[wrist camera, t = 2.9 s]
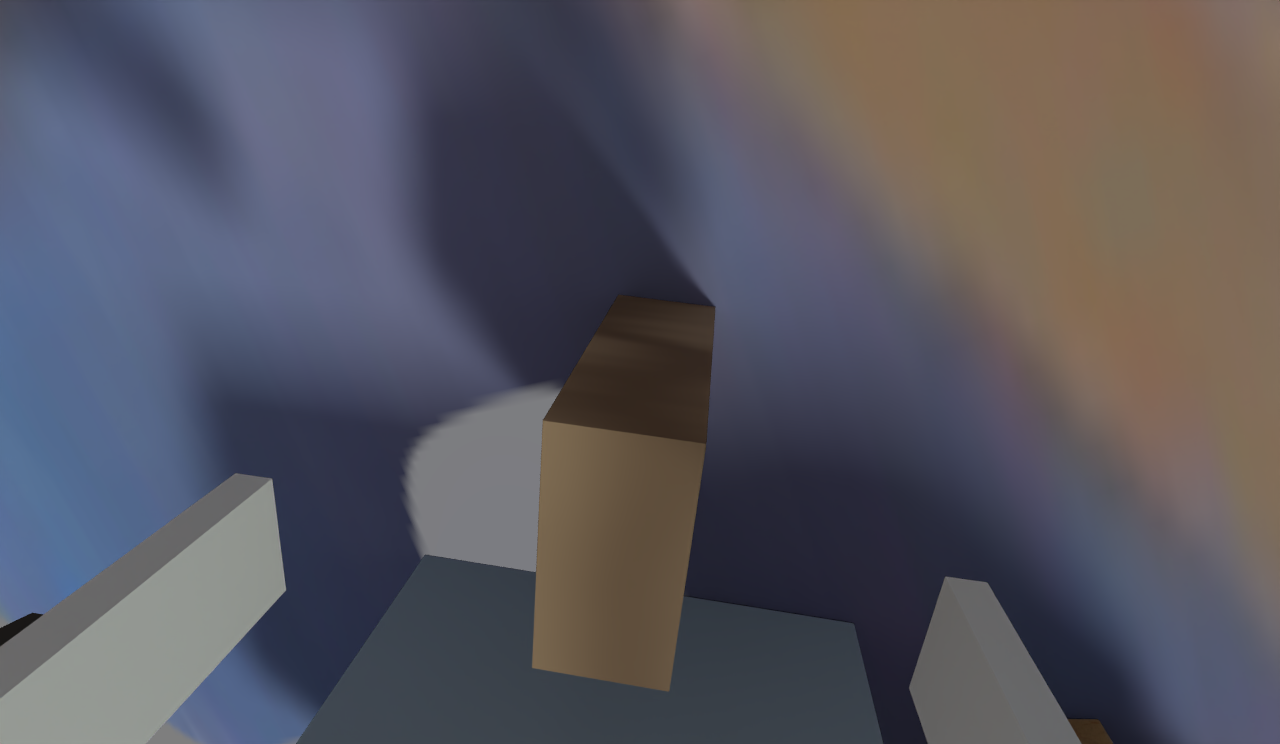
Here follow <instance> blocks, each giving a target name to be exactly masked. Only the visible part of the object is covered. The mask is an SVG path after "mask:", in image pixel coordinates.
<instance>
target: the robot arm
mask: <svg viewBox="0 0 1280 744" xmlns="http://www.w3.org/2000/svg"><path fill="white" fill-rule="evenodd" d="M285 591H286V585H285V577H284V569H283V561H282V553H281V545H280V537H279V529H278V521H277V513H276V505H275V497H274V489H273V481H272V478H265V477H258V476H251V475H244V474H237V473H235V474H234V475H233V476H231V477H230V478H228V479H227V480H226V481H224V482H223V483H222V484H220V485H219V486H218V487H216V488H215V489H214V490H212V491H211V492H209V493H208V494H207V495H205V496H204V497H203V498H201V499H200V500H199V501H197V502H196V503H195V504H193V505H192V506H190V507H189V508H188V509H186V510H185V511H184V512H182V513H181V514H180V515H178V516H177V517H176V518H174V519H173V520H171V521H170V522H169V523H167V524H166V525H165V526H163V527H162V528H161V529H159V530H158V531H157V532H155V533H154V534H152V535H151V536H150V537H148V538H147V539H146V540H144V541H143V542H142V543H140V544H139V545H138V546H136V547H135V548H133V549H132V550H131V551H129V552H128V553H127V554H125V555H124V556H123V557H121V558H120V559H119V560H117V561H116V562H114V563H113V564H112V565H110V566H109V567H108V568H106V569H105V570H104V571H102V572H101V573H100V574H98V575H97V576H95V577H94V578H93V579H91V580H90V581H89V582H87V583H86V584H85V585H83V586H82V587H81V588H79V589H78V590H76V591H75V592H74V593H72V594H71V595H70V596H68V597H67V598H66V599H64V600H63V601H62V602H60V603H59V604H57V605H56V606H55V607H53V608H52V609H51V610H49V611H48V612H47V613H45V614H44V615H43V614H36V613H31V614H29V615H27V616H25V617H22V618H20V619H18V620H16V621H14V622H12V623H10V624H8V625H6V626H4V627H1V628H0V744H146V743H147V742H148V741H149V739H151V737H152V736H153V735H154V734H155V733H156V732H157V731H158V730H159V729H160V728H161V727H162V725H163V724H164V723H165V722H166V721H167V720H168V719H169V718H170V717H171V716H172V715H173V713H174V712H175V711H176V710H177V709H178V708H179V707H180V706H181V705H182V704H183V702H184V701H185V700H186V699H187V698H188V697H189V696H190V695H191V694H192V693H193V692H194V690H195V689H196V688H197V687H198V686H199V685H200V684H201V683H202V682H203V681H204V679H205V678H206V677H207V676H208V675H209V674H210V673H211V672H212V671H213V670H214V669H215V667H216V666H217V665H218V664H219V663H220V662H221V661H222V660H223V659H224V658H225V656H226V655H227V654H228V653H229V652H230V651H231V650H232V649H233V648H234V647H235V646H236V644H237V643H238V642H239V641H240V640H241V639H242V638H243V637H244V636H245V635H246V633H247V632H248V631H249V630H250V629H251V628H252V627H253V626H254V625H255V624H256V623H257V621H258V620H259V619H260V618H261V617H262V616H263V615H264V614H265V613H266V612H267V610H268V609H269V608H270V607H271V606H272V605H273V604H274V603H275V602H276V601H277V600H278V598H279V597H280V596H281V595H282V594H283V593H284V592H285ZM909 689H910V692H911V695H912V698H913V701H914V704H915V707H916V710H917V713H918V716H919V719H920V722H921V725H922V728H923V731H924V734H925V737H926V740H927V743H928V744H1081V742H1080V740H1079V738H1078V737H1077V735H1076V733H1075V732H1074V730H1073V728H1072V726H1071V725H1070V723H1069V721H1068V720H1067V718H1066V716H1065V714H1064V713H1063V711H1062V709H1061V708H1060V706H1059V704H1058V702H1057V701H1056V699H1055V697H1054V696H1053V694H1052V692H1051V690H1050V689H1049V687H1048V685H1047V684H1046V682H1045V680H1044V679H1043V677H1042V675H1041V673H1040V672H1039V670H1038V668H1037V667H1036V665H1035V663H1034V661H1033V660H1032V658H1031V656H1030V655H1029V653H1028V651H1027V649H1026V648H1025V646H1024V644H1023V643H1022V641H1021V639H1020V637H1019V636H1018V634H1017V632H1016V631H1015V629H1014V627H1013V625H1012V624H1011V622H1010V620H1009V619H1008V617H1007V615H1006V613H1005V612H1004V610H1003V608H1002V607H1001V605H1000V603H999V602H998V600H997V598H996V596H995V595H994V593H993V591H992V590H991V588H990V586H989V584H988V583H987V582H980V581H973V580H966V579H960V578H953V577H946V576H945V579H944V582H943V585H942V588H941V591H940V594H939V597H938V600H937V603H936V606H935V609H934V612H933V615H932V618H931V622H930V625H929V628H928V631H927V634H926V637H925V640H924V643H923V646H922V649H921V652H920V655H919V658H918V661H917V665H916V668H915V671H914V674H913V677H912V680H911V683H910V686H909Z"/></svg>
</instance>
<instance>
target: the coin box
mask: <svg viewBox="0 0 1280 744" xmlns="http://www.w3.org/2000/svg"><path fill="white" fill-rule="evenodd" d="M535 589H536V572H530V571H524V570H518V569H512V568H506V567H499V566H493V565H486V564H480V563H474V562H468V561H462V560H456V559H450V558H443V557H436V556H430V555H424V557H423V558H422V560H421V561H420V563H419V564H418V566H417V567H416V569H415V570H414V572H413V573H412V575H411V576H410V577H409V579H408V580H407V582H406V583H405V585H404V586H403V588H402V589H401V591H400V592H399V594H398V595H397V596H396V598H395V599H394V601H393V602H392V604H391V605H390V607H389V608H388V610H387V611H386V613H385V614H384V616H383V617H382V618H381V620H380V621H379V623H378V624H377V626H376V627H375V629H374V630H373V632H372V633H371V635H370V636H369V638H368V639H367V640H366V642H365V643H364V645H363V646H362V648H361V649H360V651H359V652H358V654H357V655H356V657H355V658H354V659H353V661H352V662H351V664H350V665H349V667H348V668H347V670H346V671H345V673H344V674H343V676H342V677H341V679H340V680H339V681H338V683H337V684H336V686H335V687H334V689H333V690H332V692H331V693H330V695H329V696H328V698H327V699H326V701H325V702H324V703H323V705H322V706H321V708H320V709H319V711H318V712H317V714H316V715H315V717H314V718H313V720H312V721H311V722H310V724H309V725H308V727H307V728H306V730H305V731H304V733H303V734H302V736H301V737H300V739H299V740H298V742H297V743H296V744H883V740H882V736H881V732H880V728H879V724H878V720H877V716H876V712H875V708H874V704H873V700H872V696H871V691H870V687H869V683H868V679H867V675H866V671H865V667H864V663H863V659H862V655H861V651H860V647H859V643H858V639H857V635H856V631H855V627H854V623H848V622H841V621H835V620H829V619H823V618H816V617H810V616H804V615H798V614H792V613H785V612H779V611H773V610H767V609H761V608H754V607H748V606H742V605H736V604H729V603H723V602H717V601H711V600H705V599H698V598H692V597H686V596H683V603H682V610H681V616H680V623H679V630H678V636H677V643H676V650H675V656H674V663H673V670H672V676H671V683H670V690H669V692H668V691H662V690H656V689H650V688H645V687H639V686H633V685H627V684H621V683H616V682H610V681H604V680H598V679H593V678H587V677H581V676H575V675H570V674H564V673H558V672H552V671H547V670H541V669H535V668H532V657H533V635H534V612H535Z"/></svg>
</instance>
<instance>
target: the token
mask: <svg viewBox="0 0 1280 744" xmlns="http://www.w3.org/2000/svg"><path fill="white" fill-rule="evenodd" d="M714 320H715V307H712V306H704V305H697V304H689V303H681V302H673V301H665V300H657V299H649V298H641V297H633V296H625V295H618V296H617V298H616V300H615V301H614V303H613V305H612V306H611V308H610V310H609V311H608V313H607V315H606V316H605V318H604V320H603V321H602V323H601V325H600V326H599V328H598V330H597V331H596V333H595V335H594V336H593V338H592V340H591V341H590V343H589V345H588V346H587V348H586V350H585V351H584V353H583V355H582V356H581V358H580V360H579V361H578V363H577V365H576V366H575V368H574V370H573V371H572V373H571V375H570V376H569V378H568V380H567V381H566V383H565V384H564V386H563V388H562V389H561V391H560V393H559V394H558V396H557V398H556V399H555V401H554V403H553V404H552V406H551V408H550V410H549V411H548V413H547V415H546V416H545V418H544V419H543V428H542V451H541V452H542V453H541V474H540V497H539V520H538V544H537V567H536V589H535V612H534V635H533V657H532V668H535V669H541V670H547V671H552V672H558V673H564V674H570V675H575V676H581V677H587V678H593V679H598V680H604V681H610V682H616V683H621V684H627V685H633V686H639V687H645V688H650V689H656V690H662V691H668V692H669V690H670V683H671V676H672V670H673V663H674V656H675V650H676V643H677V636H678V630H679V623H680V616H681V610H682V603H683V596H684V590H685V583H686V576H687V570H688V563H689V556H690V550H691V543H692V536H693V530H694V523H695V516H696V510H697V503H698V496H699V490H700V483H701V476H702V470H703V463H704V456H705V450H706V442H707V427H708V411H709V396H710V381H711V366H712V351H713V336H714Z"/></svg>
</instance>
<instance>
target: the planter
mask: <svg viewBox="0 0 1280 744" xmlns="http://www.w3.org/2000/svg"><path fill="white" fill-rule="evenodd" d="M1067 720H1068V721H1069V723H1070V725H1071V726H1072V728H1073V730H1074V732H1075V733H1076V735H1077V737H1078V738H1079V740H1080V742H1081V744H1113V742H1112V741H1111V739H1110V737H1109V736H1108V734H1107V732H1106V731H1105V729H1104V727H1103V726H1102V724H1101V723H1100V721H1099V720H1097V719H1067Z"/></svg>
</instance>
